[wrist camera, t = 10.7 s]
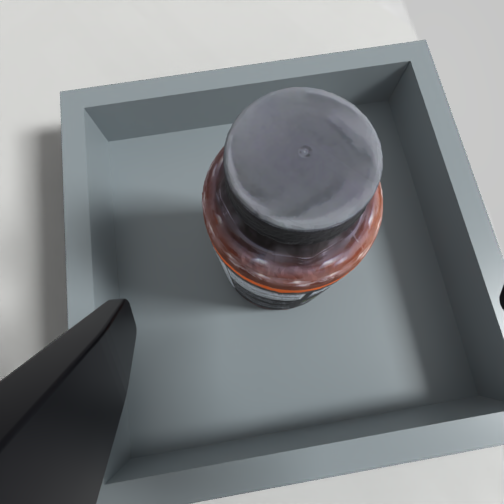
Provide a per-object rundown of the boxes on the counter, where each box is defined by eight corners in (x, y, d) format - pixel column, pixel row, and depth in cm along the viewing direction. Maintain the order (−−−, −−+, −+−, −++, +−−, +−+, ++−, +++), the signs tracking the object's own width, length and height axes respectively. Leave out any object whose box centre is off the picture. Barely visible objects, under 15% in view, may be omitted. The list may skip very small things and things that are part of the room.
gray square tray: (498, 413, 18) (565, 432, 14) (114, 484, 17) (74, 525, 14) (396, 90, 23) (425, 39, 19) (93, 135, 22) (59, 91, 18)
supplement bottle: (260, 190, 21) (267, 15, 10) (349, 242, 20) (469, 116, 9) (202, 274, 19) (134, 184, 8) (295, 334, 18) (356, 321, 7)
